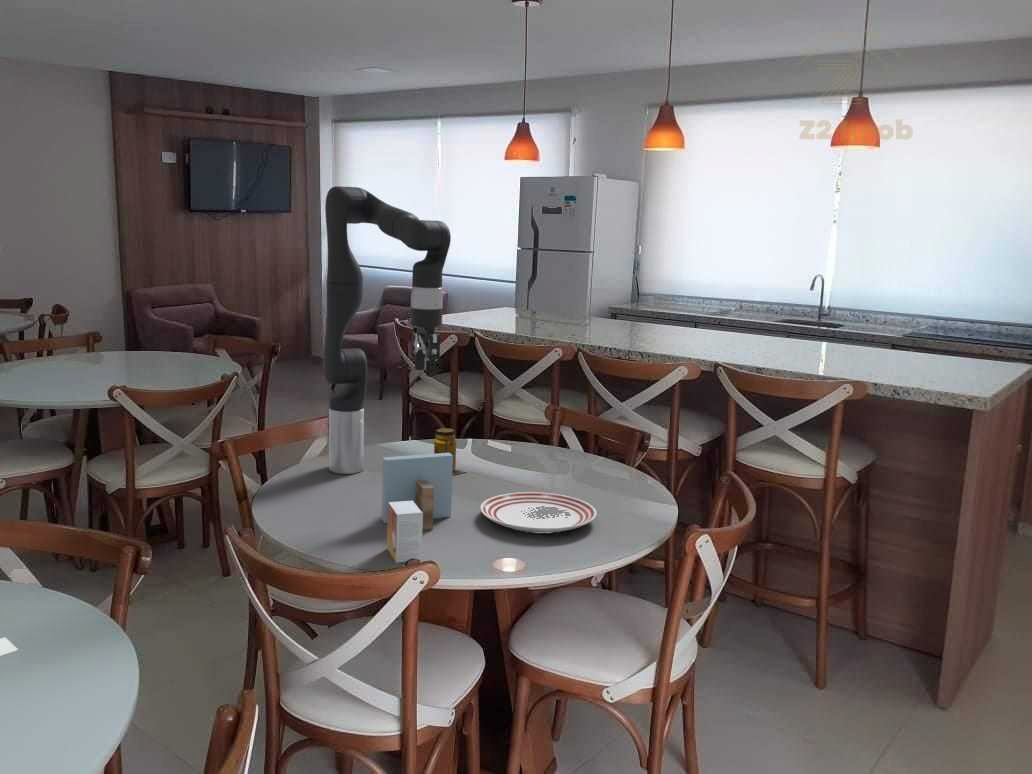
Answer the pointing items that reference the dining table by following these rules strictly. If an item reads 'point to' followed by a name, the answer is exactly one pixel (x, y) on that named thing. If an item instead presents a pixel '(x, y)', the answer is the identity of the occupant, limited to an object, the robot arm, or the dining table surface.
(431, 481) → the light blue square panel
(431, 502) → the walnut block
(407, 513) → the small box
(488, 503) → the dinner plate
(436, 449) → the condiment
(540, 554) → the dining table surface
